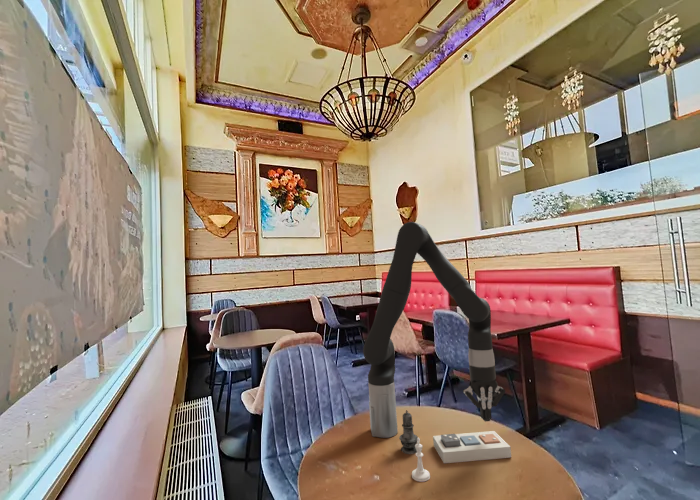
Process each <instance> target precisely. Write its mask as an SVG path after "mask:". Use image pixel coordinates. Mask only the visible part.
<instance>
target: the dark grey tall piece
mask: <svg viewBox="0 0 700 500" xmlns="http://www.w3.org/2000/svg"><path fill="white" fill-rule="evenodd" d="M401 427H402V429H403V430H402V432H403V434H401V435H400V436H399V441H400V444H401V445H402V446H401V448H400V450H401V452H402V453H403V454H406V455H413V454H416V453H417V450H416V448H415V445H416V444H417V438H419V437H418V436H417V435H416V434H414V424H413V416H412V414H411V413H409V411H408V410H405V412H404V413H403V414H402V424H401Z"/></svg>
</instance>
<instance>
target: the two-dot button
mask: <svg viewBox="0 0 700 500" xmlns="http://www.w3.org/2000/svg"><path fill="white" fill-rule="evenodd" d="M479 438H480V439H481V440H482V442H483V443H484V444H494V443H500V441H499V440H498V439H497V438H496V437H495V436H494V435H493V434H485V435H479Z"/></svg>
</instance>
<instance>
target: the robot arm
mask: <svg viewBox="0 0 700 500" xmlns="http://www.w3.org/2000/svg"><path fill="white" fill-rule="evenodd" d="M417 254H418V256H420V257H421V258H422V259H423V261H425V263H426V264H427V265H428V267H429V268H430V269H431V272H433V275H434V276H435V278H436V279H437V281H438V282H439V283H440V284H441V286H442V287H443V288H444V290H445V291H446V292H447V293H448V294H449V295H450V296H451V298H453V300H454V302H455V303H456V305H457V306H458V308H459V309H460V310H461V313H463V315H464V316H465V317H466V318H467V319H468V331H467V343H468V344H467V345H468V353H467V354H468V366H469V367H468V368H469V369H468V370H469V379H470V380H469V384H468V385H469V386H467V388H464V389H463V390H462V393H463V394H465V396H466V397H467V399H469V401H470V402H471V403H472V404H473V405H475V407H476V408H477V409H479V412H480V413H479V414H480V415H479V416H480V417H481V419H482V420H483V421H484V422H485V423H486V422H491V419H492V418H493V415H492V408H493V407H497V406H498V405H499V403H500V401H501V399H502V398H503V396H504V395H505V393H506V390H505V389H504V388H503V387H502V386H499V385H498V382H497V374H496V363H495V362H496V359H495V353H494V350H493V349H494V348H493V337H492V332H491V327H492V324H491V323H492V318H491V317H492V316H491V315H492V314H491V306H490V304H489V301H487V300H486V299H484V298H482V297H479V296H478V295H477V294H476V292H475V291H474V290H473V289H472V287H471V286H472V285H470V282H469V281H468V280H467V279H466V278H465V277H464V276H463V274H461V273H462V272H460V271H459V270H458V268H456V267H455V266H454V265H453V264H452V263H451V262H450V260H449V259H448V258H447V257H446V256H445V255H444V253H443V252H442V251H441V250H440V249H439V247H438V246H437V244H436V243H435V241H434V240H433V238H432V236H431V235H430V233H429V232H428V230H427V228H426V227H425V226H424V225H422V224H420V223H418V222H414V221H408V222H405V223H404V224H403V225H401V227H400V228H399V230H398V232H397V236H396V242H395V247H394V253H393V257H392V260H391V263H390V265H389V268H388V272H387V274H386V278H385V281H384V284H383V288H382V290H381V294H380V297H379V301H378V305H377V308H376V312H375V316H374V320H373V322H372V325H371V328H370V330H369V333H368V335H367V338H366V340H365V342H364V345H363V348H362V350H363V351H362V352H363V354H362V355H363V356H364V360H366V362H367V363H368V364H370V370H369V371H368V374H367V380H368V381H367V382H368V383H367V384H368V396H369V398H368V400H369V401H368V408H369V410H368V411H369V425H370V431H371V437H377V438H382V439H383V438H384V439H385V438H386V439H387V438H391V437H394V436H396V435H397V434H398V433H399V431H398V430H399V429H398V418H397V417H398V416H397V414H398V413H397V404H396V403H397V402H396V388H395V373H396V360H395V359H396V354H395V346H394V343H393V340H392V339H391V336H392V333H393V331H394V328H395V326H396V325H397V323H398V321H399V319H400V318H401V316H402V313H403V312H404V309H405V308H406V305H407V302H408V299H409V295H410V292H411V287H412V280H413V279H412V277H413V276H412V275H413V274H412V273H413V266H414V261H415V259H416V256H417ZM473 394H475V395H476V398H477V399H476V398H474V396H473Z"/></svg>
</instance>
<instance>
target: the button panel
mask: <svg viewBox="0 0 700 500" xmlns="http://www.w3.org/2000/svg"><path fill="white" fill-rule="evenodd" d="M454 434H455V435H456V436H457V437H458V439H459V440H460V437H461V436H473V435H474V436H475V437H476V438H477V439H478V441H479V442H480V445H470V446H465V445H464V444H463V442H462V441H461V440H460V446H458V447H447V448H445V446H444V445H443V443H442V442H441V435H442V434H440V435H433V436H432V441H433V448H434V449H435V451H436V453H437V454H438V456H439V458H440V459H441V461H442V463H443V464H450V463H462V462H463V463H464V462H472V461H473V462H475V461H484V460H496V459H497V460H498V459H507V458H508V459H509V458H512V450H511V445H510V444H509V443H508V442H506V441H505V440H504V439H503V438H502V436H500V435H499V434H498V433H497V432H496V431H495V430H489V431H478V432H466V433H454ZM485 434H493V435H494V436H495V437H496V438H497V439H498V440H499V441H500V443H494V444H484V443H483V442H482V440H481V439H480V438H479V435H485Z"/></svg>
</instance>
